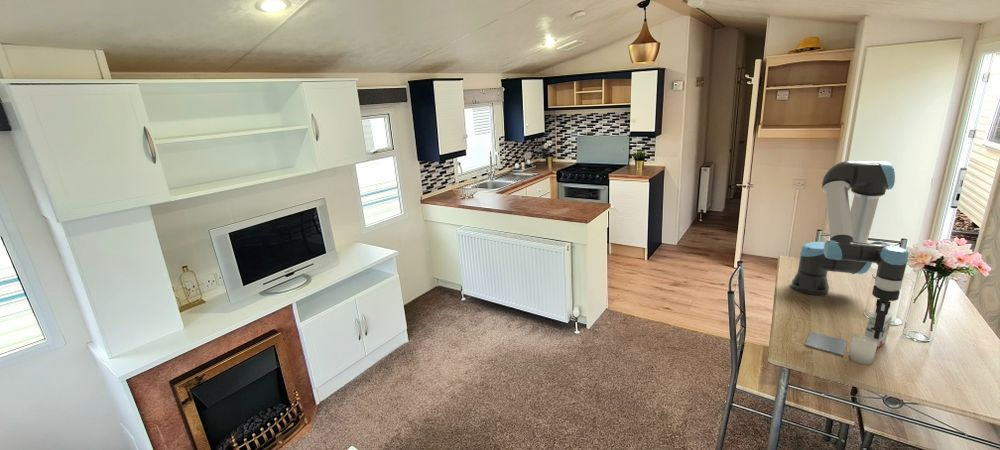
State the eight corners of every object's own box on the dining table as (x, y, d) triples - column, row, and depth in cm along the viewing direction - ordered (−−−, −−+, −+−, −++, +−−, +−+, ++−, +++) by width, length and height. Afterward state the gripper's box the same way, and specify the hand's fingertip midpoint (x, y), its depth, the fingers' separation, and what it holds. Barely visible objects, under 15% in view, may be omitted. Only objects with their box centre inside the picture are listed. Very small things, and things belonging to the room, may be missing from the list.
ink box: (878, 349, 166) (884, 321, 163) (862, 343, 170) (868, 316, 167) (886, 341, 171) (893, 314, 167) (870, 336, 175) (876, 309, 171)
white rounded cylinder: (849, 351, 166) (853, 332, 164) (873, 357, 162) (878, 338, 159) (847, 359, 161) (851, 340, 159) (872, 367, 157) (877, 347, 154)
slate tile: (810, 332, 180) (810, 331, 179) (846, 342, 172) (847, 341, 172) (804, 345, 171) (804, 344, 171) (843, 356, 163) (843, 355, 163)
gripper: (876, 274, 175) (866, 321, 181) (871, 296, 158) (860, 348, 164) (901, 278, 170) (890, 327, 176) (899, 302, 153) (886, 355, 159)
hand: (875, 337), depth 170 cm, fingers open, 13 cm apart
